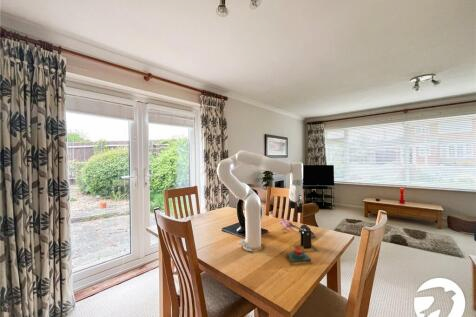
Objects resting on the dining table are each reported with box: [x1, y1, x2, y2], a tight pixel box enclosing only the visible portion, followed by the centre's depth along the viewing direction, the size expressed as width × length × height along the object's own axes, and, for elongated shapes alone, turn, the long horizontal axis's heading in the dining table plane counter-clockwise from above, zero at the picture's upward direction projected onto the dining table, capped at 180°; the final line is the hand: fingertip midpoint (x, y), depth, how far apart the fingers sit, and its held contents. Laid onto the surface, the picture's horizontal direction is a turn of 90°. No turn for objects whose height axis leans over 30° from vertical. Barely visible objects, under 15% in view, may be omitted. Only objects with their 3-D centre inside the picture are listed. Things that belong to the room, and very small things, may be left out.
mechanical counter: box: [298, 224, 317, 239], centre depth 140 cm, size 7×13×10 cm
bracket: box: [300, 228, 312, 250], centre depth 122 cm, size 10×8×12 cm
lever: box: [290, 222, 305, 233], centre depth 121 cm, size 12×5×2 cm, turn 98°
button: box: [294, 248, 303, 255], centre depth 109 cm, size 4×4×2 cm
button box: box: [286, 249, 312, 263], centre depth 109 cm, size 10×8×4 cm
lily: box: [279, 217, 297, 231], centre depth 150 cm, size 12×12×10 cm
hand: (296, 210), depth 122 cm, fingers open, 9 cm apart
